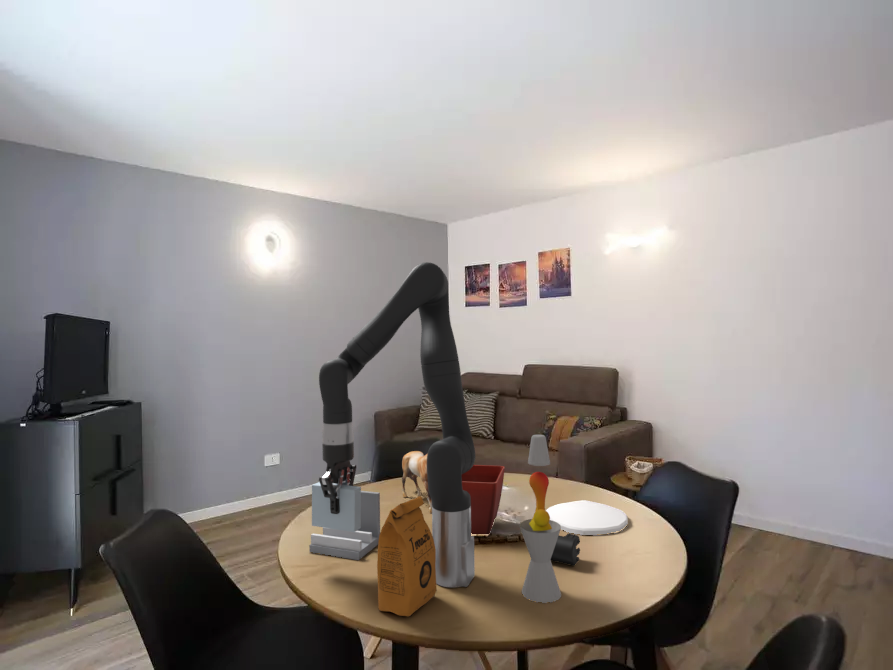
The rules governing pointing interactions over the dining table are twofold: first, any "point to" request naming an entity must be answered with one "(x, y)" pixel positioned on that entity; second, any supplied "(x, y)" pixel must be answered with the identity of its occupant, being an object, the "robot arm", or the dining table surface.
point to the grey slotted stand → (352, 533)
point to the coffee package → (406, 560)
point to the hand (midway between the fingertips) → (339, 510)
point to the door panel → (348, 509)
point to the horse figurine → (416, 472)
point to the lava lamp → (540, 532)
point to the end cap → (566, 549)
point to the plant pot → (483, 495)
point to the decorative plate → (587, 517)
